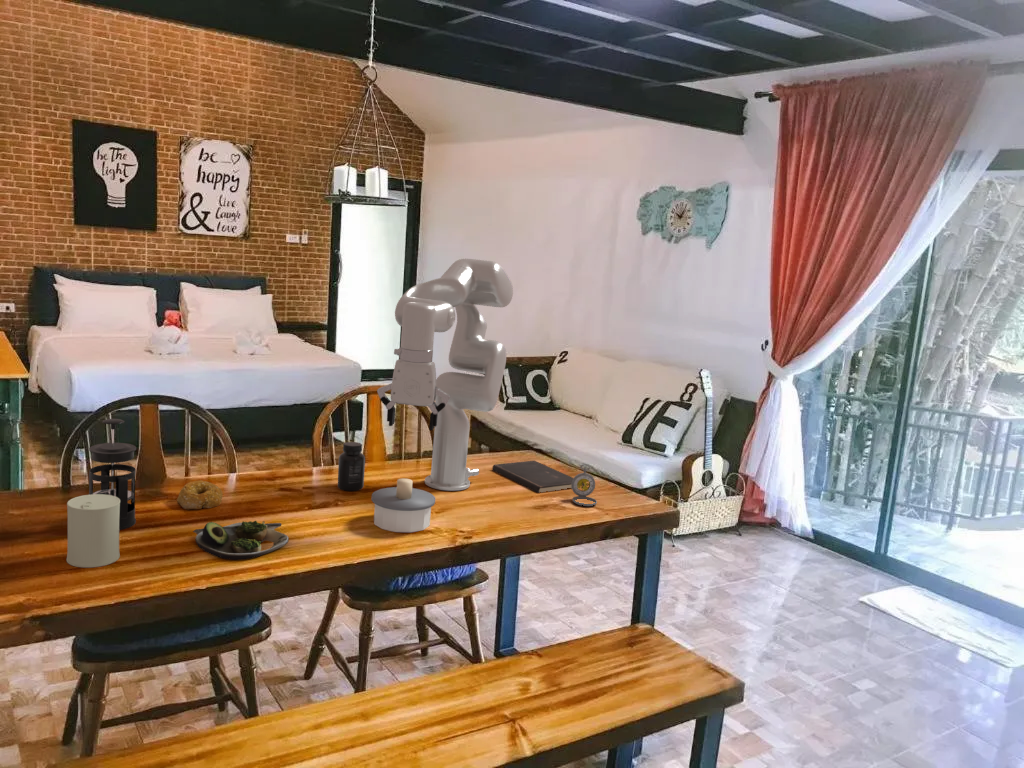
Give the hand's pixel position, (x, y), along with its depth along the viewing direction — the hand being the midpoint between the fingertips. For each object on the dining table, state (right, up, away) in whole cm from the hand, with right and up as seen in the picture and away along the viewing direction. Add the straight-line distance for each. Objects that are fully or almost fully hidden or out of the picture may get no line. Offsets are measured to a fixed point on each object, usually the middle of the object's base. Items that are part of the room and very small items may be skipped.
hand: (411, 426), depth 193 cm
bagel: (-50, -19, +1) cm, 54 cm away
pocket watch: (+43, -22, +30) cm, 58 cm away
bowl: (-3, -23, +1) cm, 23 cm away
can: (-58, -24, -35) cm, 71 cm away
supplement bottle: (-19, -18, +23) cm, 35 cm away
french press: (-62, -20, -17) cm, 68 cm away
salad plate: (-34, -24, -21) cm, 46 cm away
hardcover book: (+31, -19, +48) cm, 60 cm away
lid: (-2, -17, 0) cm, 18 cm away
